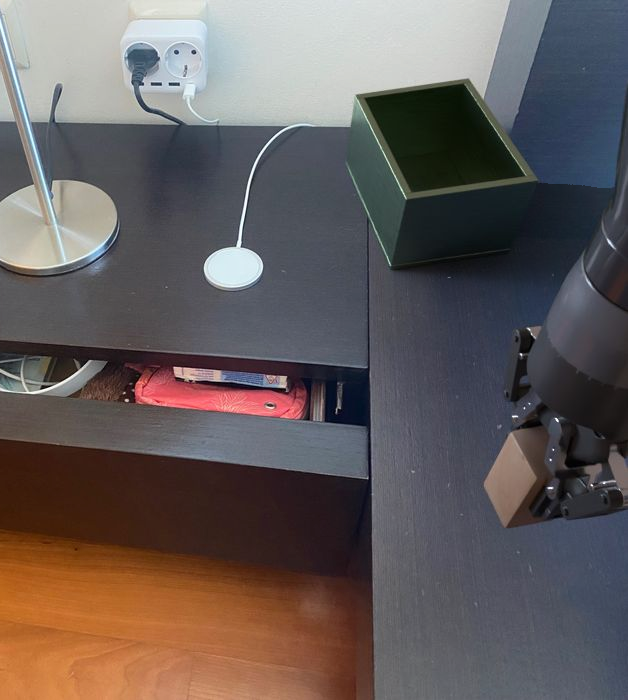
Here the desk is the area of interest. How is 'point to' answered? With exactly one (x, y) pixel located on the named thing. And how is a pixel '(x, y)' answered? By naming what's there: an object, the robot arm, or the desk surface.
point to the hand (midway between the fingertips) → (530, 481)
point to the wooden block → (519, 476)
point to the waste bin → (436, 174)
